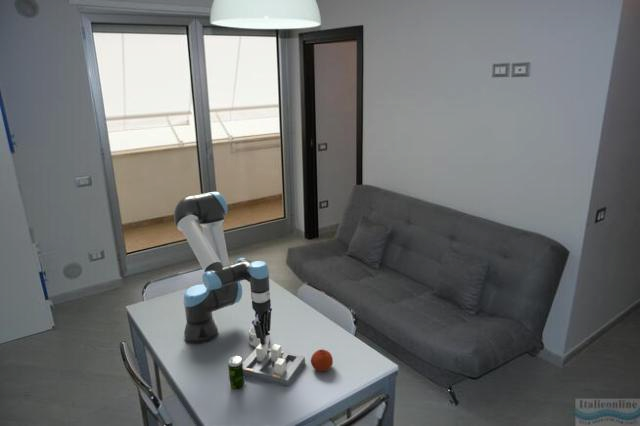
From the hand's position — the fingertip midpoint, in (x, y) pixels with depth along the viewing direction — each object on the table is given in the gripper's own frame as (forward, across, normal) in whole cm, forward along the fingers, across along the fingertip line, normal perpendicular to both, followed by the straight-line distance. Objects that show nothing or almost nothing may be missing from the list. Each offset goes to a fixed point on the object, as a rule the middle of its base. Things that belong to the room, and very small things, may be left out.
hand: (264, 349), depth 190 cm
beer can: (+5, -20, +2) cm, 20 cm away
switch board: (+4, -5, -6) cm, 9 cm away
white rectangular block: (+3, -3, 0) cm, 4 cm away
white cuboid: (+3, -1, -6) cm, 7 cm away
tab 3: (+3, -9, -12) cm, 15 cm away
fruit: (+5, +2, -25) cm, 25 cm away
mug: (+5, +11, +10) cm, 16 cm away
